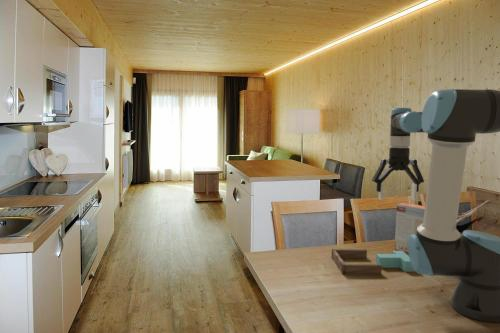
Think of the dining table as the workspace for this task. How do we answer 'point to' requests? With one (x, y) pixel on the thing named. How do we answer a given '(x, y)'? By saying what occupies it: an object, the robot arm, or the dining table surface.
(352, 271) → the nest
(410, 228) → the cracker box
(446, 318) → the dining table surface
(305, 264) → the dining table surface
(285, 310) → the dining table surface
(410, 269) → the t block
